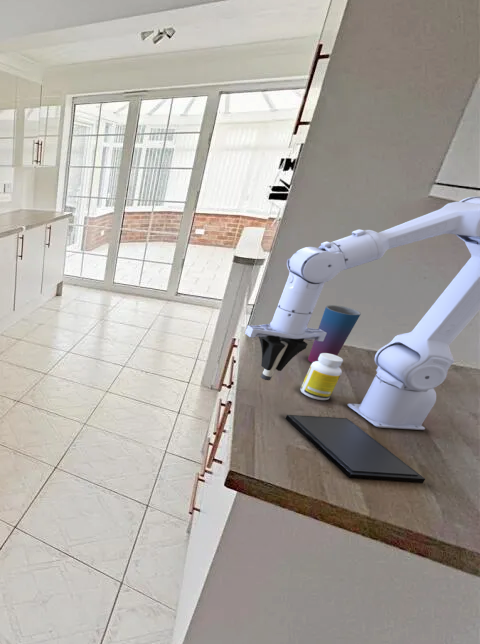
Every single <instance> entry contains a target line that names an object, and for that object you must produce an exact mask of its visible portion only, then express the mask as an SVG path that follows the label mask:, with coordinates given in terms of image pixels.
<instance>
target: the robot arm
mask: <svg viewBox="0 0 480 644" xmlns="http://www.w3.org/2000/svg"><path fill="white" fill-rule="evenodd" d="M445 234H446V235H455V236H456V237H457V238H458V239H460V240H461V241H463V242H464V244H465V245H466V247H467V249H468V252H469V254H470V258H469V259H468V260H467V261H466V263H465V264H464V265H463V266H462V268H461V269H460V270H459V272H458V273H457V274H456V275H455V277H454V278H452V280H451V282H450V283H449V284H448V285H447V286H446V288H445V289H444V291H443V292H441V293H440V295H439V296H438V298H437V299H436V300H435V301H434V303H433V304H432V305H431V306H430V308H429V309H428V310H427V311H426V313H425V314H424V315H423V316H422V317H421V319H420V320H419V322H418V323H417V324H416V325H415V327H414V328H413V329H412V330H411V331H410V332H405V333H400V334H397V335H395V336H394V337H393V339H392V340H391V341H389V342H388V343H386V344H385V345H383V346H382V347H380V348H379V349H378V350H377V352H376V353H375V355H374V363H375V365H376V366H377V368H376V369H375V371H376V374H375V376H374V378H373V379H372V382H371V384H370V385H369V388H368V389H367V391H366V394H365V395H364V397H363V399H362V401H361V402H360V403H347V404H346V405H347V407H348V408H350V409H351V410H352V411H354V412H356V413H357V414H358V415H359V416H361V417H362V418H364V419H365V420H366V421H368V422H369V423H370V424H372V425H373V426H374V427H376V428H384V429H397V430H399V429H400V430H415V431H416V430H418V431H425V429H426V427H425V426H423V424H424V422H425V420H426V419H427V417H428V415H429V414H430V412H431V411H432V409H433V407H434V406H435V404H436V402H437V393H436V389H435V388H437V387H439V386H440V385H442V384H443V383H444V381H445V380H446V379H447V376H448V371H449V369H450V368H451V366H452V365H453V364H454V363H455V360H454V357H453V353H452V351H451V348H450V345H451V344H452V343H453V342H454V341H455V340H456V338H457V337H458V336H459V335H460V334H461V333H462V331H463V330H464V329H465V328H466V327H467V326H468V325H469V323H470V322H471V321H472V320H473V319H474V318H475V317H476V315H477V314H479V312H480V195H479V196H478V195H473V196H469V197H466V198H463V199H461V200H459V201H453V202H448V203H446V204H445V205H444V206H442V207H441V208H439V209H436V210H434V211H431V212H429V213H426V214H423V215H421V216H418V217H415V218H412V219H410V220H408V221H405V222H403V223H400V224H398V225H394V226H392V227H390V228H387V229H384V230H382V231H379V232H378V231H375V230H372V229H361V228H358V229H356V230H353V231H351V235H347V236H345V237H341V238H339V239H335V240H333V241H323V242H321V243H320V245H319V246H318V247H316V246H306V247H302V248H301V249H298V250H297V251H296V252H295V253H292V256H291V257H290V258H287V260H286V268H287V270H288V277H287V280H286V282H285V285H284V288H283V291H282V293H281V296H280V298H279V301H278V304H277V306H276V309H275V310H274V311H275V312H274V314H273V317H272V319H271V321H270V322H269V323H265V324H256V325H255V324H254V325H251V324H249V325H246V326H247V327H246V330H245V331H244V332H245V333H244V334H245V335H246V336H247V337H249V338H251V339H252V338H253V339H254V338H256V337H258V339H259V343H260V348H261V366H260V367H262V368H263V370H264V369H266V370H271V368H272V367H273V365H274V362H275V360H276V358H277V356H278V354H279V353H280V352H281V350H282V349H283V348H284V347H285V345H284V344H283V343H281V341H284V342H286V343H287V344H288V346H287V348H286V350H285V352H284V354H283V356H282V358H281V360H280V362H279V364H278V366H277V368H276V370H275V371H278V372H282V371H283V370H284V368H285V367H286V366H287V365H288V364H289V362H290V361H291V360H292V359H294V358H295V357H296V356H297V355H298V354H299V353H301V352H302V351H304V350H306V349H307V347H308V343H307V342H305V341H304V340H310V341H311V340H312V341H314V340H317V341H324V338H325V336H326V334H327V333H326V332H324V331H322V330H321V329H318V328H313V327H308V325H309V323H310V320H311V318H312V315H313V313H314V310H315V309H316V306H317V303H318V302H319V299H320V297H321V294H322V292H323V289H324V287H325V284H326V283H328V282H330V281H331V280H333V279H334V278H335V277H336V276H337V275H338V274H339V273H341V272H343V271H345V270H346V271H347V270H349V269H352V268H355V267H358V266H361V265H365V264H367V263H371V262H374V261H378V260H380V259H382V258H383V256H384V255H385V254H386V252H387V251H388V250H391V249H394V248H398V247H402V246H406V245H408V244H412V243H416V242H420V241H423V240H427V239H432V238H435V237H438V236H442V235H445Z"/></svg>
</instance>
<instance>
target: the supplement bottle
mask: <svg viewBox="0 0 480 644" xmlns="http://www.w3.org/2000/svg"><path fill="white" fill-rule="evenodd" d="M343 362H344V359H343V358H342V357H341V356H338V355H337V356H336V355H333V354H329V353H321V354H320V356H319V358H318V361H315V362H313V363H311V364H310V366H309V369H308V371H307V373H306V374H305V377H304V379H303V381H302V383H301V386H300V392H301V393H302V394H303V395H305V396H306V397H309V398H311V399H314V400H318V401H327V400H329V399H330V398H331V396H332V394H333V392H334V390H335V388H336V386H337V384H338V381H339V379H340V377H341V375H342V372H343V371H342V368H341V366H342V364H343Z"/></svg>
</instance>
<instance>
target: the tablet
mask: <svg viewBox="0 0 480 644" xmlns="http://www.w3.org/2000/svg"><path fill="white" fill-rule="evenodd" d="M285 420H286V421H287V422H288V423H289V424H290V425H292V426H293V427H294V428H295V429H296V430H297V431H298V432H299V433H300V434H301V435H302V436H303V437H304V438H306V439H307V440H308V441H309V442H310V443H311V444H312V445H313V447H315V448H316V449H317V450H318V451H319V452H320V453H322V454H323V455H324V456H325V457H326V458H327V460H329V461H330V462H331V463H332V464H333V465H334V466H335V467H337V469H339V471H341V472H342V473H343V475H345V476H346V477H347V478H348V479H352V480H365V481H367V480H368V481H381V482H382V481H383V482H396V483H397V482H398V483H413V484H424V483H425V481H426V478H425V477H424V476H423V475H422V474H420V473H419V472H417V471H416V470H415V469H413V468H412V467H411V466H409V465H408V464H407V463H406V462H405V461H403V460H402V459H400V458H399V457H398V456H396V455H395V454H394V453H393V452H392V451H390V450H389V449H387V448H386V447H385V446H383V444H381V443H380V442H379V441H377V440H375V438H373V437H372V436H371V435H370V434H368V433H367V432H365V431H364V430H363V429H361V427H359V426H358V425H356V424H355V423H354V422H353V421H351V420H350V419H349V418H347V417H332V416H315V415H300V414H286V416H285Z"/></svg>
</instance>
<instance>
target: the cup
mask: <svg viewBox="0 0 480 644" xmlns="http://www.w3.org/2000/svg"><path fill="white" fill-rule="evenodd" d="M361 314H362V313H361V312H360V311H359V310H357V309H354V308H351V307H348V306H343V305H337V304H328V305H326V306H325V308H324V311H323V314H322V317H321V320H320V323H319V325H318V328H317V329H321V330H322V331H324V332H326V333H327V334H326V336H325V338H324V341H317V340H313V343H312V345H311V349H310V352H309V354H308V358H307V361H308V362H310V363H311V364H312V363H313V362H315V361H318V358H319V356H320V354H321V353H329V354H333V355H336V356H338V355H339V354H340V351H341V350H342V348H343V346H344V345H345V343H346V341H347V339H348V338H349V336H350V335H351V332H352V331H353V328H354V327H355V325H356V324H357V322H358V320H359V318H360V317H361Z"/></svg>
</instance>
